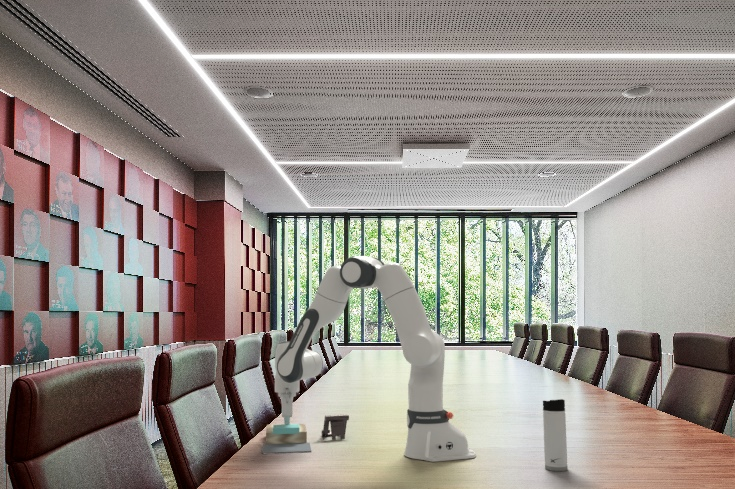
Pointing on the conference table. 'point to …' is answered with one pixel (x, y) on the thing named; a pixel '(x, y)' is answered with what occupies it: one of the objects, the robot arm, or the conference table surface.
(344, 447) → the conference table surface
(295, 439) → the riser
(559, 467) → the travel mug
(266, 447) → the mat
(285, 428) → the turquoise rectangular block
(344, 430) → the portable electronic device stand
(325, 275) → the robot arm
